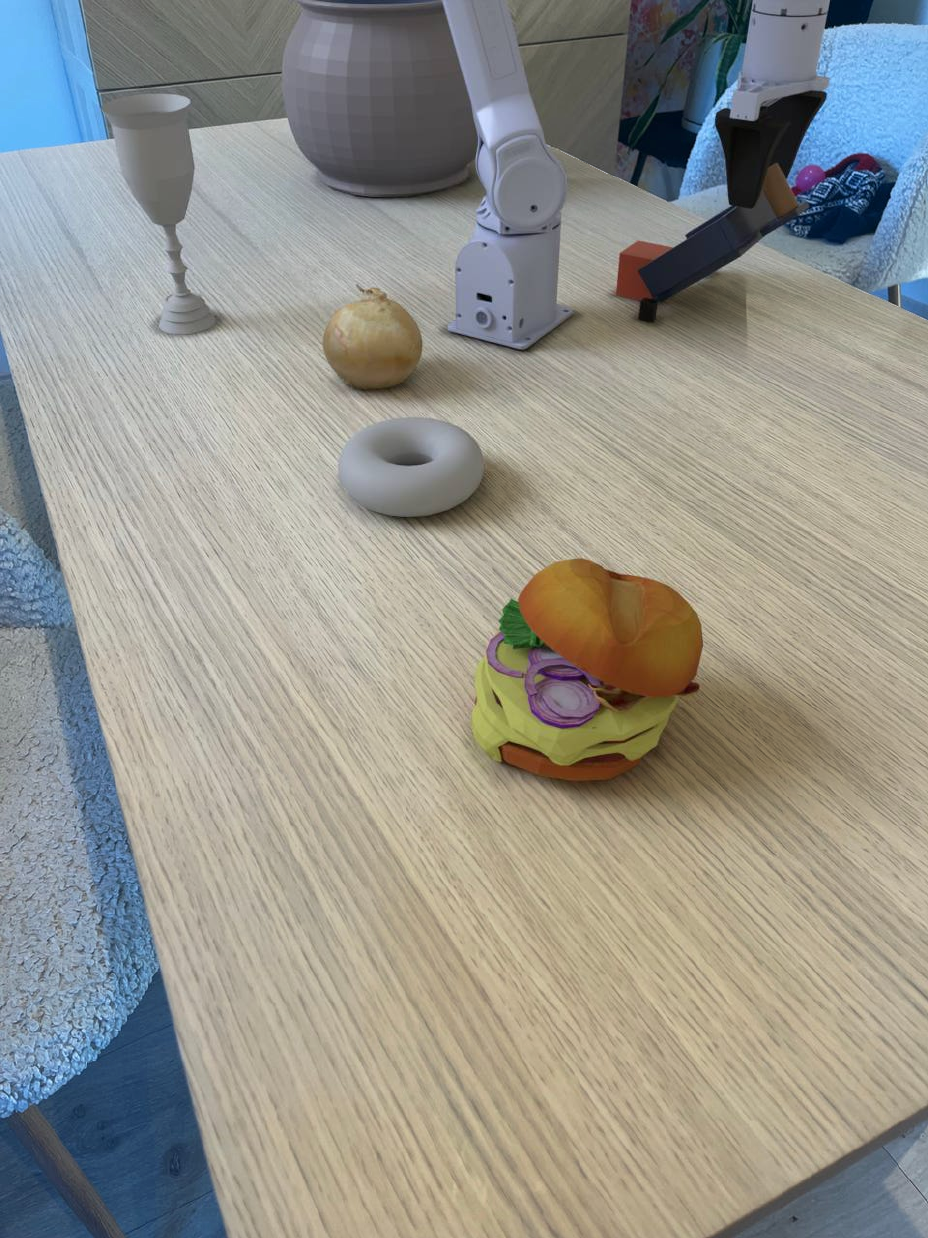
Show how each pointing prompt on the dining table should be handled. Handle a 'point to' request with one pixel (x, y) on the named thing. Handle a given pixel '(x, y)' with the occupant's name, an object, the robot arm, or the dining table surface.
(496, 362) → the dining table surface
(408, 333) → the onion
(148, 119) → the chalice
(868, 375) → the dining table surface
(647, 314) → the black bar
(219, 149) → the dining table surface
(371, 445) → the donut
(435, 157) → the grey pot
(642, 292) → the block
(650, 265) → the dark navy tray
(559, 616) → the cheeseburger
